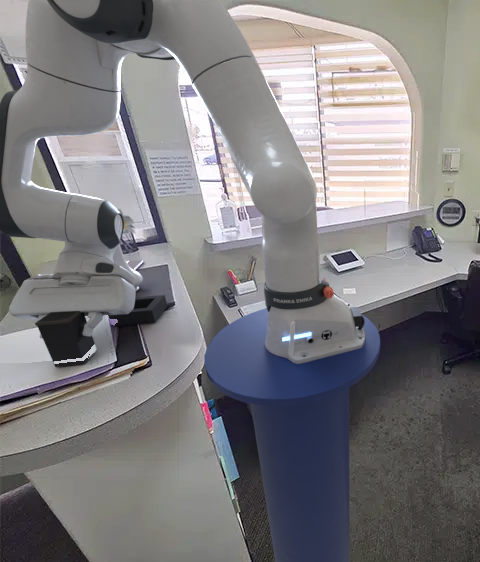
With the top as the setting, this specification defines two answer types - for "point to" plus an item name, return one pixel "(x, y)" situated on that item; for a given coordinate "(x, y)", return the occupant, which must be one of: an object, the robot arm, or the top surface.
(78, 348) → the black tall block
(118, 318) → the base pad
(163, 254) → the top surface
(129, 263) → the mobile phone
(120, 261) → the flower vase
